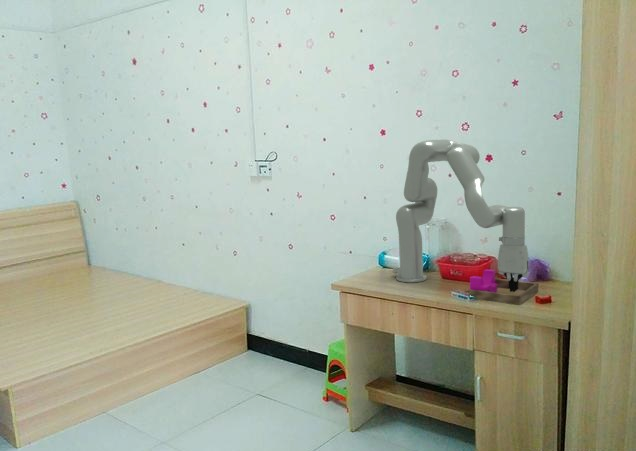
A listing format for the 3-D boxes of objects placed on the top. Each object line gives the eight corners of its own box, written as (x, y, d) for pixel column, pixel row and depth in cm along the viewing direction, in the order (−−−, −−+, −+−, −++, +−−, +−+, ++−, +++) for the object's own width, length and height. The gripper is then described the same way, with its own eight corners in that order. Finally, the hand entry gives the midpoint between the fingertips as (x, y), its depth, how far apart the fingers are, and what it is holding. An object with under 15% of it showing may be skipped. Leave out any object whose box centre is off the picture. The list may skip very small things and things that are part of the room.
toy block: (486, 299, 201) (486, 279, 200) (470, 297, 205) (469, 277, 204) (501, 290, 213) (501, 270, 212) (485, 288, 217) (485, 269, 215)
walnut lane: (469, 297, 204) (469, 289, 203) (490, 285, 219) (490, 278, 219) (520, 305, 192) (520, 296, 192) (538, 291, 207) (538, 283, 207)
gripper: (489, 241, 202) (489, 290, 205) (531, 244, 193) (531, 296, 196) (497, 238, 208) (497, 286, 211) (538, 241, 199) (537, 291, 201)
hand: (513, 290), depth 203 cm, fingers closed
